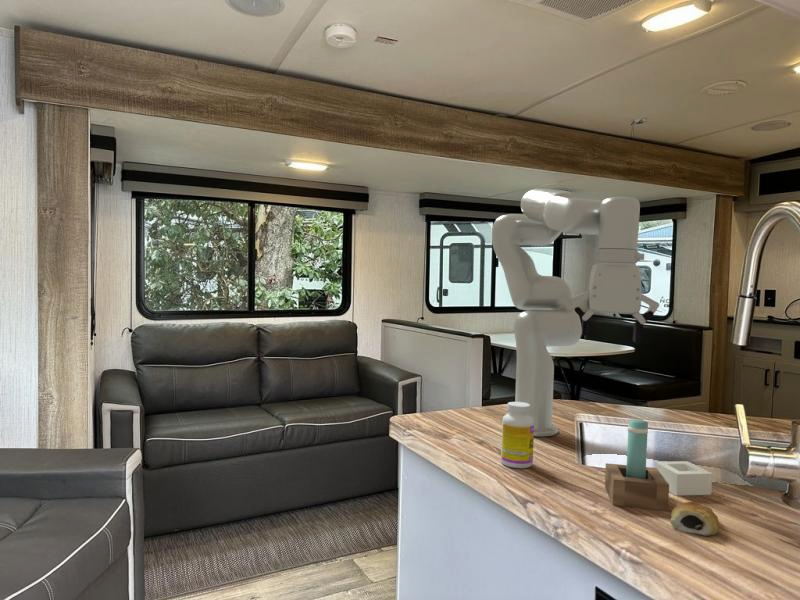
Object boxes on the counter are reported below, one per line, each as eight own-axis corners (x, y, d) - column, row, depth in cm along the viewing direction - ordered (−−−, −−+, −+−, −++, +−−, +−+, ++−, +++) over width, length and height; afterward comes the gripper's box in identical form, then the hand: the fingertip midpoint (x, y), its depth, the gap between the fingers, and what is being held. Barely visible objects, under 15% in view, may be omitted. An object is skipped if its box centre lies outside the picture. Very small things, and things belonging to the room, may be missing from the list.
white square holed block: (654, 481, 109) (654, 461, 109) (686, 481, 110) (687, 461, 110) (676, 495, 102) (677, 474, 102) (711, 494, 103) (712, 473, 103)
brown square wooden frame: (604, 486, 106) (605, 463, 105) (655, 491, 104) (656, 467, 104) (612, 504, 97) (613, 479, 97) (668, 510, 95) (669, 484, 95)
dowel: (623, 493, 102) (626, 418, 102) (642, 495, 101) (646, 420, 101) (626, 500, 99) (630, 422, 99) (646, 502, 98) (650, 424, 98)
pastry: (676, 510, 96) (677, 489, 96) (721, 521, 92) (722, 498, 92) (668, 530, 88) (669, 506, 88) (717, 542, 84) (718, 517, 84)
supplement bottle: (533, 470, 113) (535, 408, 113) (500, 467, 115) (502, 406, 114) (532, 460, 120) (534, 401, 120) (501, 457, 121) (503, 399, 121)
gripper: (657, 260, 115) (651, 341, 117) (571, 257, 119) (566, 335, 121) (666, 259, 108) (660, 346, 109) (574, 256, 112) (569, 340, 113)
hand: (611, 340), depth 115 cm, fingers open, 9 cm apart
